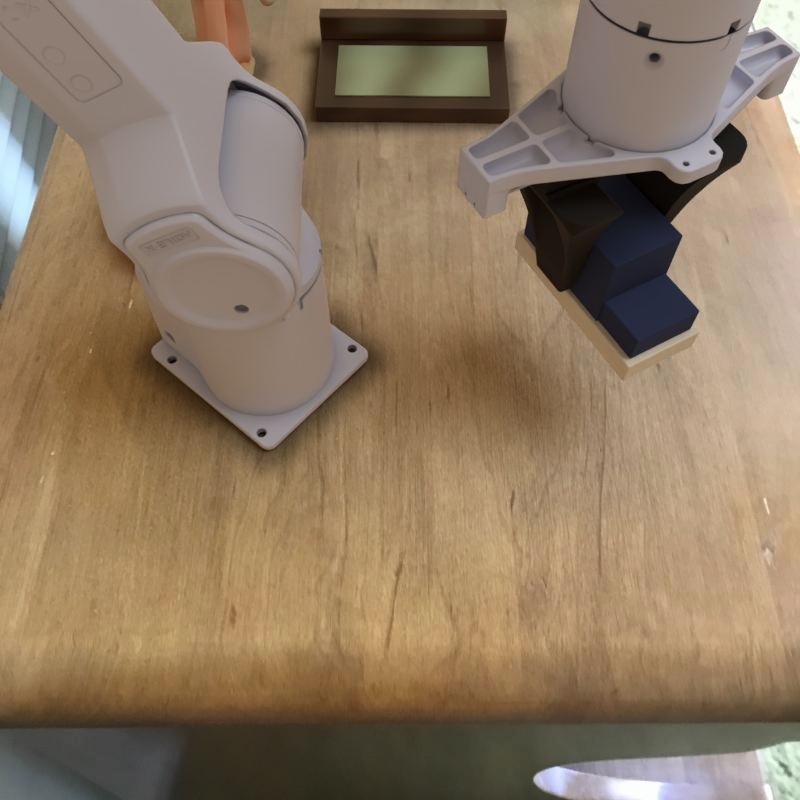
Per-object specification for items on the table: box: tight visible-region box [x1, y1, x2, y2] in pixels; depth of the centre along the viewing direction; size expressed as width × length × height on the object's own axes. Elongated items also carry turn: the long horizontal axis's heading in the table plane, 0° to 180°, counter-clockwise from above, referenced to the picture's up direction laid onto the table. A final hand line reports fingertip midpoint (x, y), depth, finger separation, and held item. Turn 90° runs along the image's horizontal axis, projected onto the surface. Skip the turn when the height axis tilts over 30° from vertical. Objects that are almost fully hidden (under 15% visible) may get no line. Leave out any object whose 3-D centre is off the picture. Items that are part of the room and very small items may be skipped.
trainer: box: [514, 174, 700, 381], centre depth 38 cm, size 9×4×5 cm, turn 29°
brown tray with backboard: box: [314, 8, 511, 124], centre depth 57 cm, size 13×8×3 cm, turn 89°
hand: (590, 259), depth 39 cm, fingers closed on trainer, 3 cm apart
